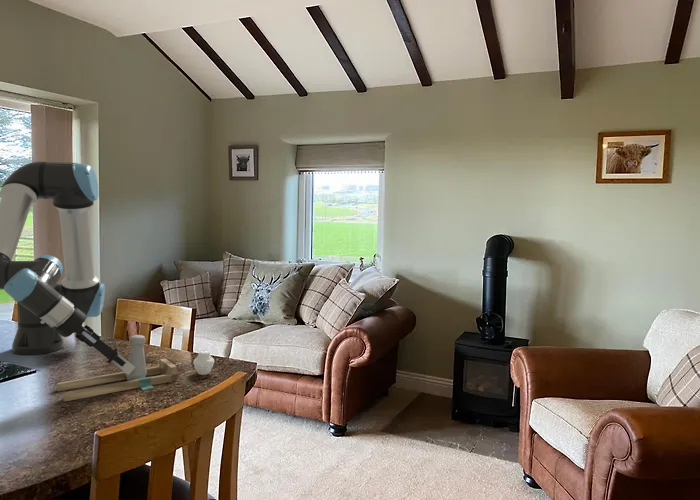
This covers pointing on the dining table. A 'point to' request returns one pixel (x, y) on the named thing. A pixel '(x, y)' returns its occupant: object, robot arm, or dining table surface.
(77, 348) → the dining table surface
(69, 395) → the guide rails
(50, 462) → the dining table surface
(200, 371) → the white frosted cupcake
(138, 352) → the salt shaker
